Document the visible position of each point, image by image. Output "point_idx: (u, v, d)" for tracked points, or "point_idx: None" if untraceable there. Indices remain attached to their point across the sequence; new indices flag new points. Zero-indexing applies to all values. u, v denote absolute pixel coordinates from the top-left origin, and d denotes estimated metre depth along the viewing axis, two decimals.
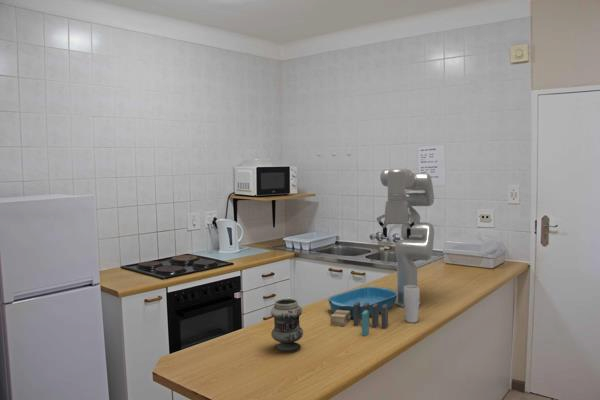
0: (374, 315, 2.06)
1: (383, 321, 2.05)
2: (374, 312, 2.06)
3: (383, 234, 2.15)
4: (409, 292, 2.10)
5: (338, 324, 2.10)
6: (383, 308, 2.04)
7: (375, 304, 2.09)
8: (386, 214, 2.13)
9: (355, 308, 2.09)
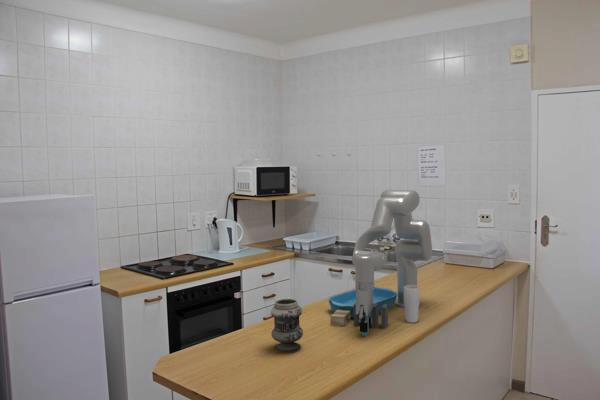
0: (374, 315, 2.06)
1: (383, 321, 2.05)
2: (374, 312, 2.06)
3: (365, 329, 1.95)
4: (409, 292, 2.10)
5: (338, 324, 2.10)
6: (383, 308, 2.04)
7: (375, 304, 2.09)
8: (367, 305, 1.94)
9: (355, 308, 2.09)
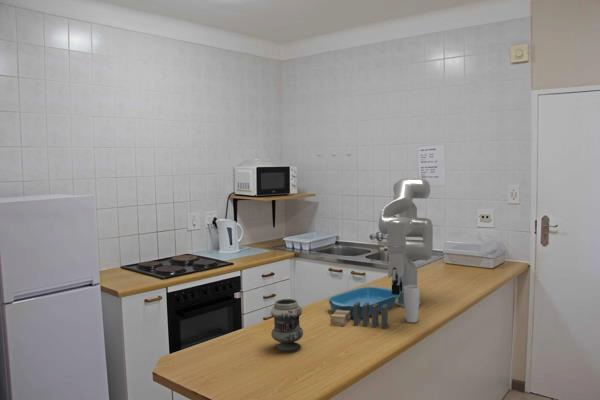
0: (374, 315, 2.06)
1: (383, 321, 2.05)
2: (374, 312, 2.06)
3: (397, 292, 2.01)
4: (409, 292, 2.10)
5: (338, 324, 2.10)
6: (383, 308, 2.04)
7: (375, 304, 2.09)
8: (400, 268, 1.99)
9: (355, 308, 2.09)
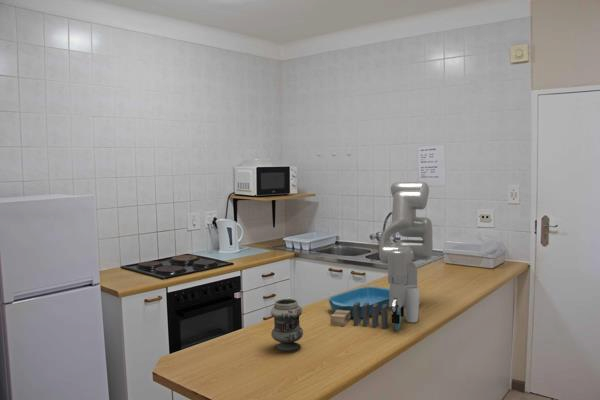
0: (374, 315, 2.06)
1: (383, 321, 2.05)
2: (374, 312, 2.06)
3: (397, 321, 2.00)
4: (409, 292, 2.10)
5: (338, 324, 2.10)
6: (383, 308, 2.04)
7: (375, 304, 2.09)
8: (400, 298, 2.00)
9: (355, 308, 2.09)
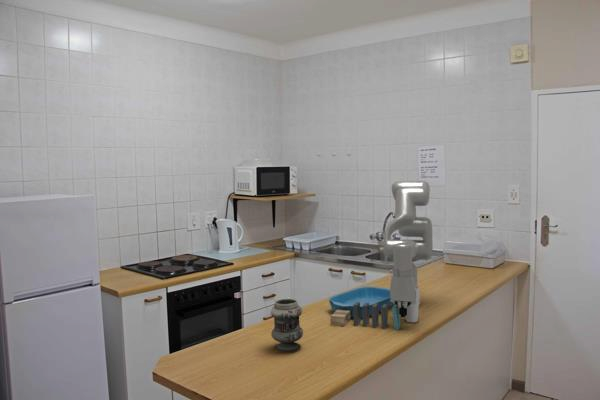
0: (374, 315, 2.06)
1: (383, 321, 2.05)
2: (374, 312, 2.06)
3: (406, 313, 2.04)
4: None
5: (338, 324, 2.10)
6: (383, 308, 2.04)
7: (375, 304, 2.09)
8: None
9: (355, 308, 2.09)
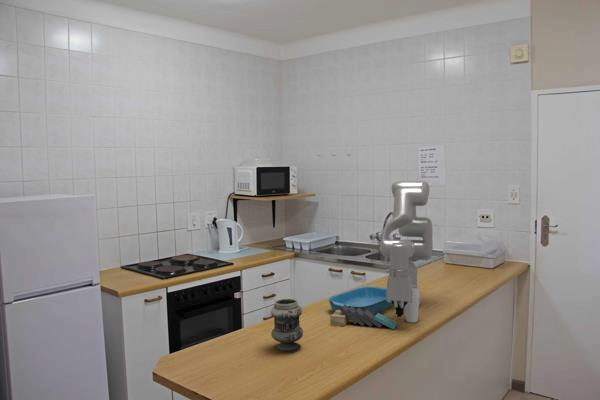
0: (362, 317, 2.08)
1: (374, 322, 2.06)
2: (359, 315, 2.09)
3: None
4: None
5: (338, 324, 2.10)
6: (363, 314, 2.08)
7: (356, 310, 2.12)
8: None
9: (343, 310, 2.11)
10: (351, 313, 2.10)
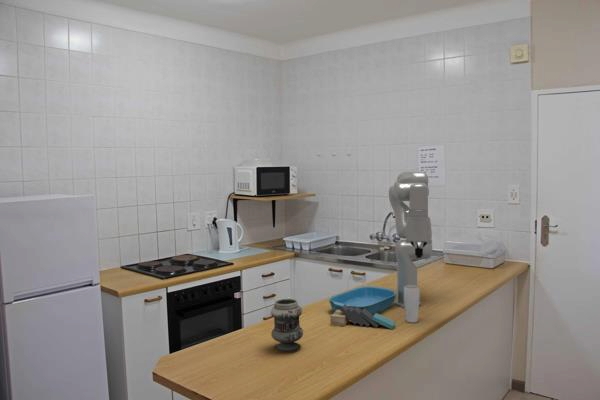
0: (359, 316, 2.09)
1: (371, 321, 2.07)
2: (357, 314, 2.09)
3: None
4: (409, 292, 2.10)
5: (338, 324, 2.10)
6: (361, 313, 2.08)
7: None
8: None
9: (343, 310, 2.11)
10: (351, 313, 2.10)
